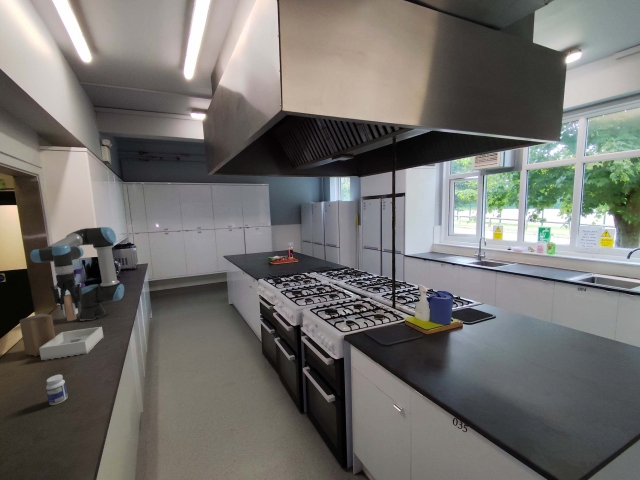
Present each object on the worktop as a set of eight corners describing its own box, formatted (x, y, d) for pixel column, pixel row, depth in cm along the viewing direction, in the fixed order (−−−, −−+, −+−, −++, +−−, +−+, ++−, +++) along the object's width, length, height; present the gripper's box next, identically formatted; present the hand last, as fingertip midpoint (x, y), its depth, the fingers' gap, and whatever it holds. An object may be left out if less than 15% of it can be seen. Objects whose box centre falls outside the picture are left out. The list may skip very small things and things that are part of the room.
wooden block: (58, 348, 162) (52, 314, 160) (36, 357, 153) (29, 321, 150) (47, 346, 166) (41, 312, 163) (24, 355, 156) (18, 319, 154)
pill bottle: (56, 396, 119) (52, 374, 118) (71, 395, 119) (67, 372, 118) (44, 406, 113) (40, 382, 112) (60, 404, 114) (56, 381, 112)
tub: (63, 343, 168) (61, 332, 167) (103, 337, 173) (101, 326, 172) (41, 361, 149) (39, 348, 148) (86, 353, 154) (85, 341, 153)
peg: (69, 318, 162) (65, 294, 160) (78, 317, 163) (74, 293, 161) (65, 321, 158) (61, 296, 156) (74, 320, 159) (70, 295, 157)
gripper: (41, 276, 151) (48, 319, 154) (79, 273, 156) (85, 314, 159) (50, 273, 159) (56, 314, 161) (86, 270, 163) (92, 310, 166)
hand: (71, 314), depth 160 cm, fingers closed on peg, 4 cm apart
